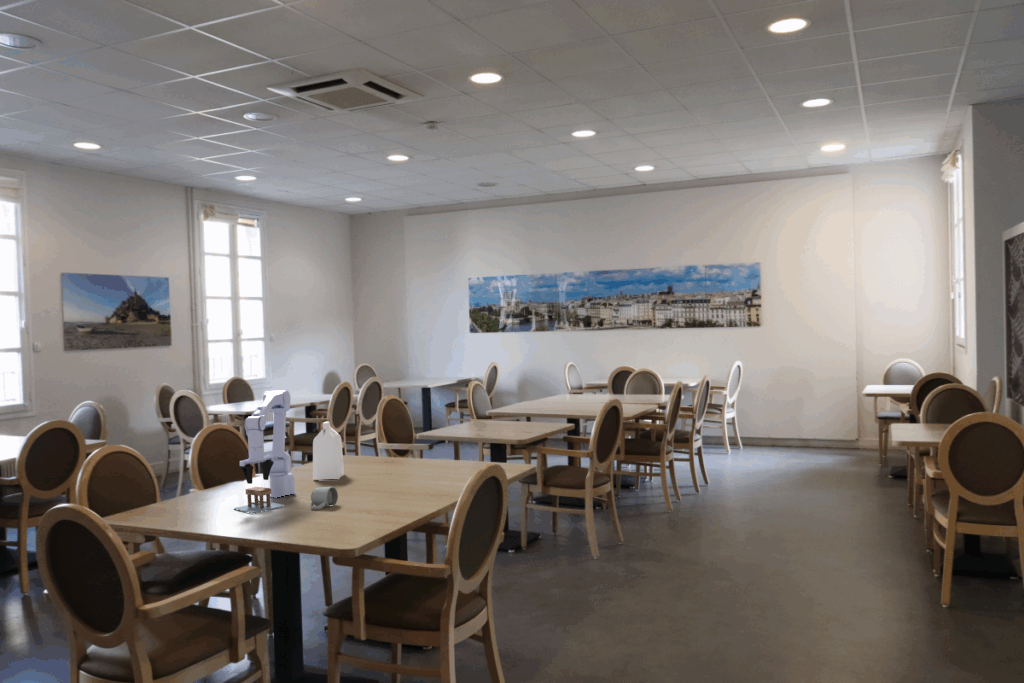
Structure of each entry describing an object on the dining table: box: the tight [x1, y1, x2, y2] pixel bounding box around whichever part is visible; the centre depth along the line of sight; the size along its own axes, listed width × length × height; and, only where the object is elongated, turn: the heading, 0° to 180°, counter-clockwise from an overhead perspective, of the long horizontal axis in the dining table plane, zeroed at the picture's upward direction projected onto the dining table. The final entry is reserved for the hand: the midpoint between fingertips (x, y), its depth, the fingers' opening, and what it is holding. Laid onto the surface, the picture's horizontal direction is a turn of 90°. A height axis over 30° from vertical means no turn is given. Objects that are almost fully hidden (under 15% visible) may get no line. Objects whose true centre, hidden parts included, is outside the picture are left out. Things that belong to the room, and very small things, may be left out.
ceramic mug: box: [309, 486, 339, 510], centre depth 296 cm, size 11×8×8 cm
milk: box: [312, 421, 345, 480], centre depth 357 cm, size 12×12×26 cm
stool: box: [245, 486, 271, 509], centre depth 299 cm, size 9×5×7 cm, turn 57°
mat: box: [234, 501, 286, 514], centre depth 298 cm, size 14×14×1 cm
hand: (257, 481), depth 299 cm, fingers open, 7 cm apart
